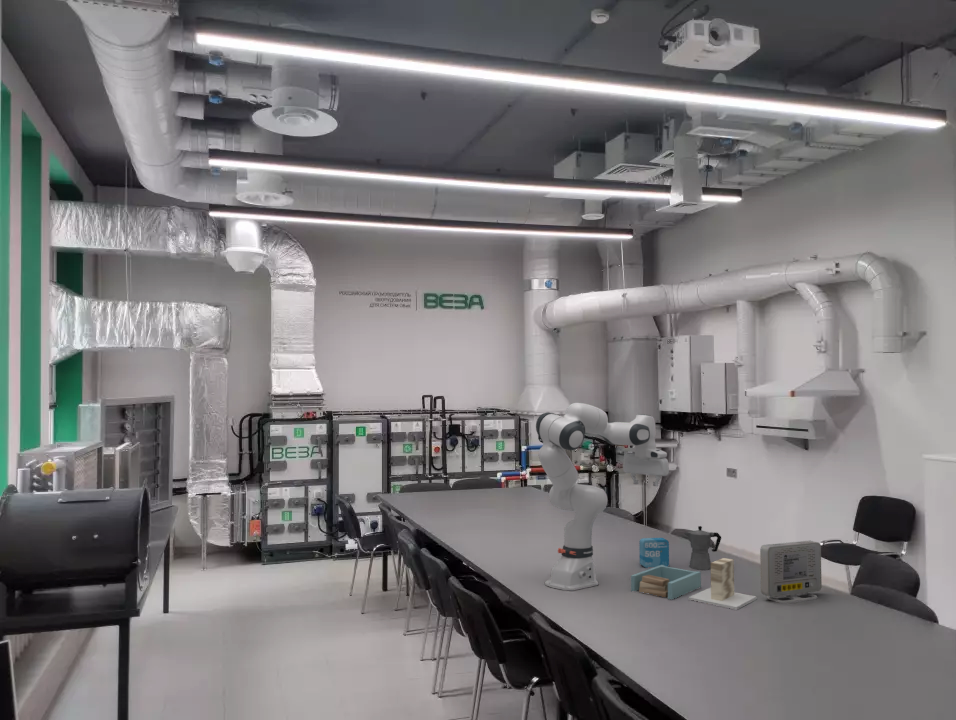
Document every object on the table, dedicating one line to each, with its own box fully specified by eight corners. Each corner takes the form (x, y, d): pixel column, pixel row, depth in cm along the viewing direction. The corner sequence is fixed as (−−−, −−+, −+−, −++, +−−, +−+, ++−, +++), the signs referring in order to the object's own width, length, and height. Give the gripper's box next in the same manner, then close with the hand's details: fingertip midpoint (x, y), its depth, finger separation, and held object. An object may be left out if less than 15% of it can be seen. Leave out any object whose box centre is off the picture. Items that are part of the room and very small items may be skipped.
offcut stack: (665, 598, 267) (665, 581, 267) (638, 592, 274) (638, 576, 275) (672, 595, 271) (671, 579, 271) (645, 589, 278) (645, 574, 278)
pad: (736, 610, 252) (736, 607, 252) (688, 599, 264) (688, 597, 265) (756, 599, 266) (756, 596, 266) (710, 590, 278) (710, 587, 278)
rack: (671, 600, 264) (671, 583, 265) (631, 591, 276) (630, 575, 276) (700, 587, 282) (700, 571, 282) (661, 579, 293) (661, 564, 294)
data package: (643, 568, 313) (643, 540, 314) (639, 565, 317) (639, 538, 318) (669, 567, 315) (669, 539, 315) (665, 564, 319) (664, 537, 320)
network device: (809, 591, 276) (808, 539, 277) (827, 597, 268) (826, 543, 269) (756, 598, 267) (755, 544, 268) (774, 604, 259) (773, 548, 260)
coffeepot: (684, 569, 311) (683, 527, 312) (685, 564, 320) (684, 523, 321) (721, 571, 307) (721, 529, 307) (721, 566, 316) (720, 525, 316)
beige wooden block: (721, 601, 260) (721, 564, 260) (711, 598, 262) (710, 562, 263) (734, 594, 268) (733, 559, 268) (723, 592, 271) (723, 557, 271)
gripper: (620, 451, 310) (620, 483, 310) (663, 454, 296) (663, 488, 296) (627, 450, 315) (628, 482, 314) (670, 453, 301) (671, 486, 300)
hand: (645, 485), depth 305 cm, fingers open, 8 cm apart
